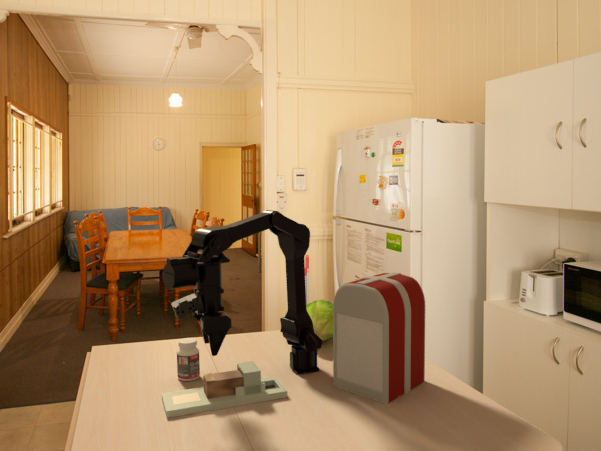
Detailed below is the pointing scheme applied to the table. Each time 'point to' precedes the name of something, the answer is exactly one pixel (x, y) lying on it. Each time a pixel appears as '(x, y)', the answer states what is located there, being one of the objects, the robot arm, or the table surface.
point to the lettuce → (321, 318)
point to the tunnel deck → (249, 393)
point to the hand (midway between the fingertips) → (210, 349)
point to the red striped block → (379, 336)
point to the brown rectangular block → (222, 383)
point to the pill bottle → (188, 360)
